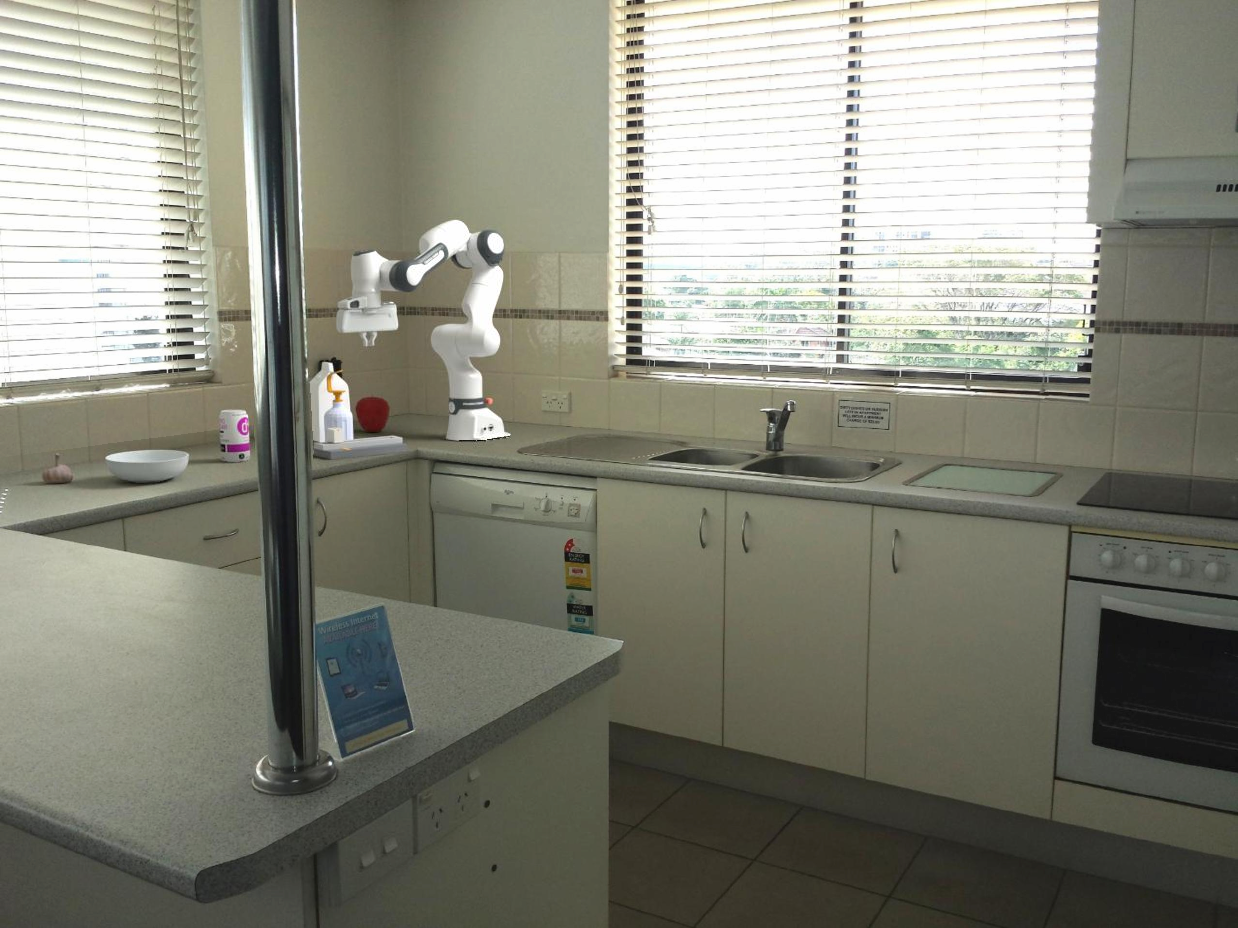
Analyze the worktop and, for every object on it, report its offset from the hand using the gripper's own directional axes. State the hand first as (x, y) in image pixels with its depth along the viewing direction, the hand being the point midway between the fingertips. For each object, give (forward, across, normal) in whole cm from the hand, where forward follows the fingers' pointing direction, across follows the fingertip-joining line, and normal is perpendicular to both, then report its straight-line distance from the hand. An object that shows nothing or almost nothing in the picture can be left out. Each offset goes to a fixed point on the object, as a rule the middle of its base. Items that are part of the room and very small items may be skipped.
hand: (368, 346), depth 359 cm
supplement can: (+32, +44, -3) cm, 55 cm away
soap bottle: (+33, +5, -13) cm, 36 cm away
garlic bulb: (+31, +95, +4) cm, 100 cm away
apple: (+34, -19, -35) cm, 52 cm away
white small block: (+30, +16, +7) cm, 35 cm away
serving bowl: (+31, +76, +15) cm, 83 cm away
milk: (+33, +1, -28) cm, 44 cm away
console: (+33, +8, +7) cm, 34 cm away
